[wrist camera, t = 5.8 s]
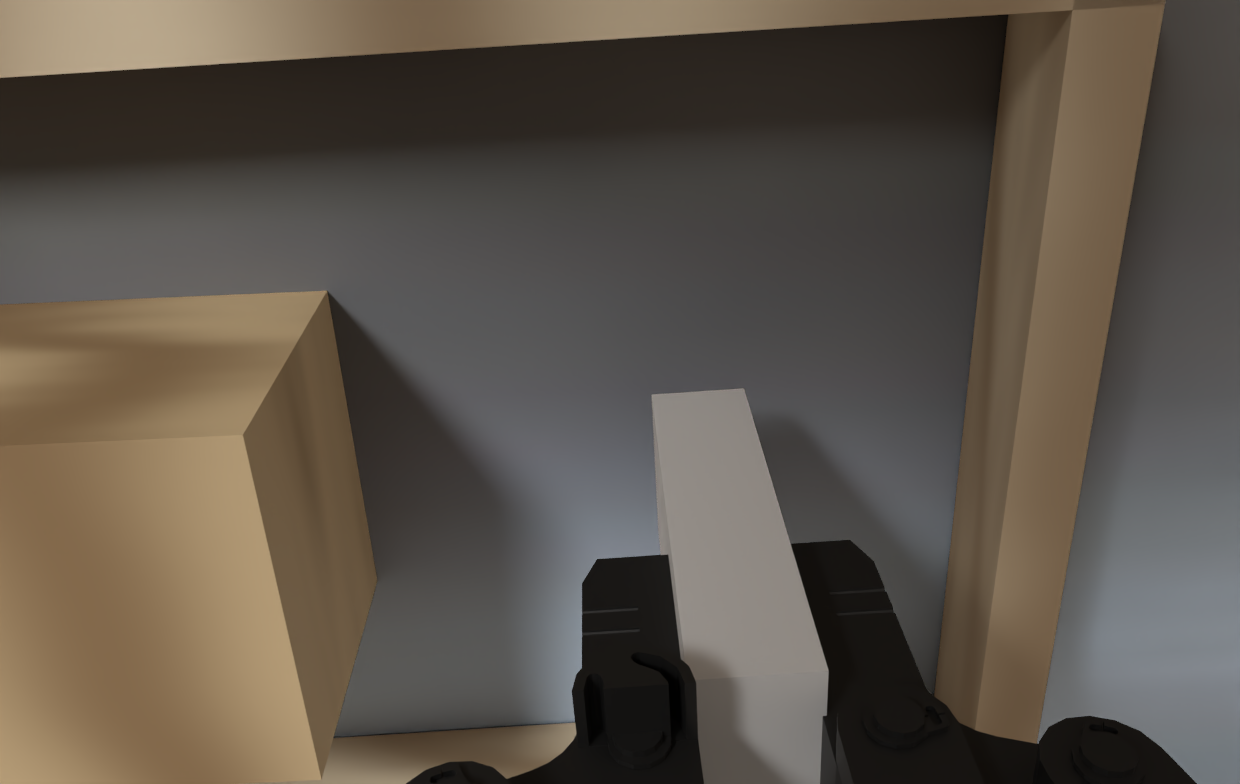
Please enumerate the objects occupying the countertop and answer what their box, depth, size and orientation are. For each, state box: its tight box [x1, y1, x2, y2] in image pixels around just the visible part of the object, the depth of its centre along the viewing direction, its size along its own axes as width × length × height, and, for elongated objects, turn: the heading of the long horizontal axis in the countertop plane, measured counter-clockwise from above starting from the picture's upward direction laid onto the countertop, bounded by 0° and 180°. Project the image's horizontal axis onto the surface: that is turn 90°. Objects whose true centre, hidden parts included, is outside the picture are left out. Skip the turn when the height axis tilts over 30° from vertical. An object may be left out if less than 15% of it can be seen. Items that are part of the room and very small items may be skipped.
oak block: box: [0, 291, 377, 784], centre depth 17 cm, size 6×6×5 cm
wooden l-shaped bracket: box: [0, 0, 1165, 784], centre depth 18 cm, size 20×16×2 cm
